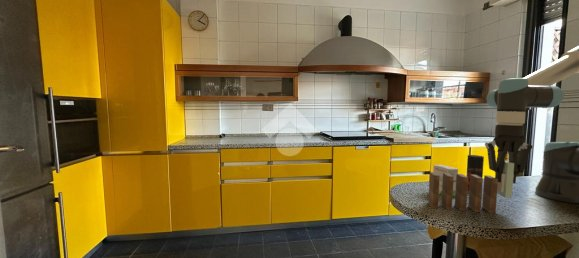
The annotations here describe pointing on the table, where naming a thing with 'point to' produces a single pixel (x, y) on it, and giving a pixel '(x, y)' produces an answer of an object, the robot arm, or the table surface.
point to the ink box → (440, 170)
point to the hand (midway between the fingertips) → (504, 191)
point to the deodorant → (474, 166)
